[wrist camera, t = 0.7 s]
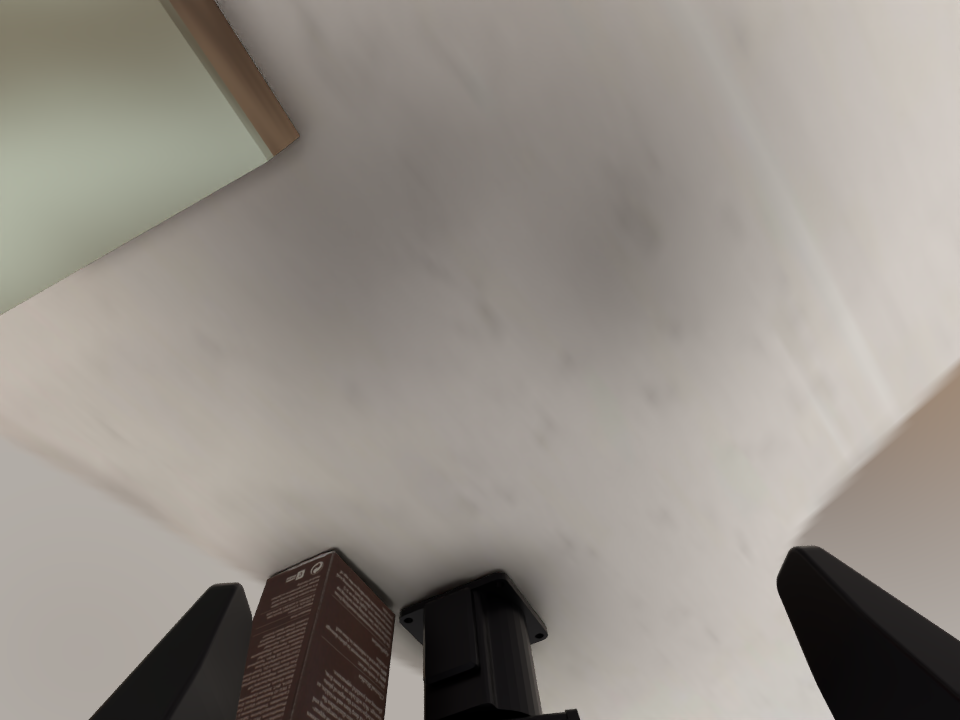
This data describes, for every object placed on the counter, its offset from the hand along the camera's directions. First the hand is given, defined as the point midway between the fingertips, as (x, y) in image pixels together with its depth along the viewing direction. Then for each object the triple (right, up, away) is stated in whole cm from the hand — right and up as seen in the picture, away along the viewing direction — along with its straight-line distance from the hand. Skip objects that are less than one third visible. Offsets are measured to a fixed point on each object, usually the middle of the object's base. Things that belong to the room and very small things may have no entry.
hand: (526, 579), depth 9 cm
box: (-9, -9, +19) cm, 23 cm away
